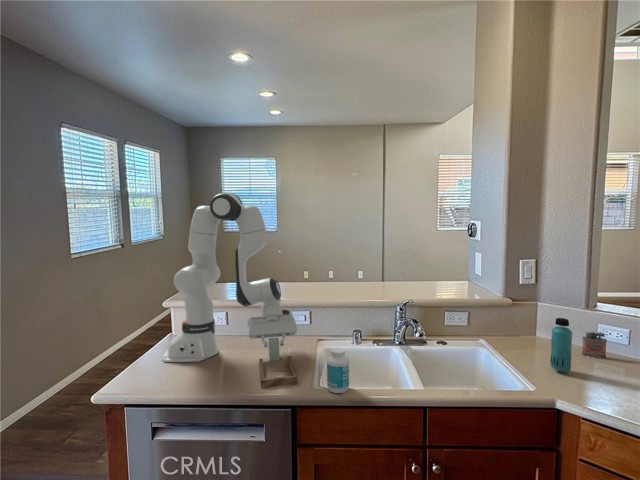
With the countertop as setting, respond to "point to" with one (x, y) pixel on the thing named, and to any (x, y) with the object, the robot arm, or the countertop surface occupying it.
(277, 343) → the sage block
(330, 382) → the pill bottle
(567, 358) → the beverage bottle
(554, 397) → the countertop surface
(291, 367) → the walnut lane
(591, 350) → the lighter
